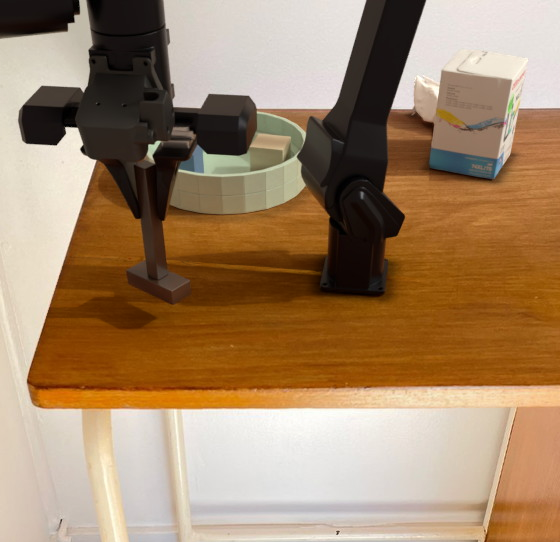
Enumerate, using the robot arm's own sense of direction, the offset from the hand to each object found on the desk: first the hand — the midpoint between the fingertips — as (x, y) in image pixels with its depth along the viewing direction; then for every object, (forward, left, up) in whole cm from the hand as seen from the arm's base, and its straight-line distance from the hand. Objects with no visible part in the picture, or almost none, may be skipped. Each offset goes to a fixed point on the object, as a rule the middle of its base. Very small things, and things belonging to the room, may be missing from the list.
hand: (151, 218), depth 75 cm
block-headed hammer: (0, 0, -7) cm, 7 cm away
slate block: (+27, +4, -9) cm, 29 cm away
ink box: (+39, -30, -10) cm, 50 cm away
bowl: (+29, -1, -10) cm, 30 cm away
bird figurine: (+50, -26, -10) cm, 57 cm away
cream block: (+30, -6, -9) cm, 32 cm away
